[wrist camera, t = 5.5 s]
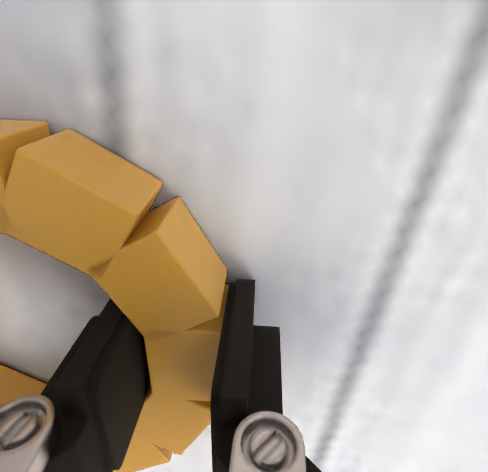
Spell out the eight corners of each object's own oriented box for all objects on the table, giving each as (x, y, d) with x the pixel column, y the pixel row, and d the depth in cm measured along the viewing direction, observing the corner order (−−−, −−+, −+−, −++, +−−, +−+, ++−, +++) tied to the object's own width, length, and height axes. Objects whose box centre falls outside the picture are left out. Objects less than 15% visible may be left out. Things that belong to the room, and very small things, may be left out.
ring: (-54, 410, 14) (-101, 463, 12) (-226, 110, 9) (-357, 126, 7) (231, 432, 13) (225, 490, 11) (234, 127, 8) (224, 149, 6)
